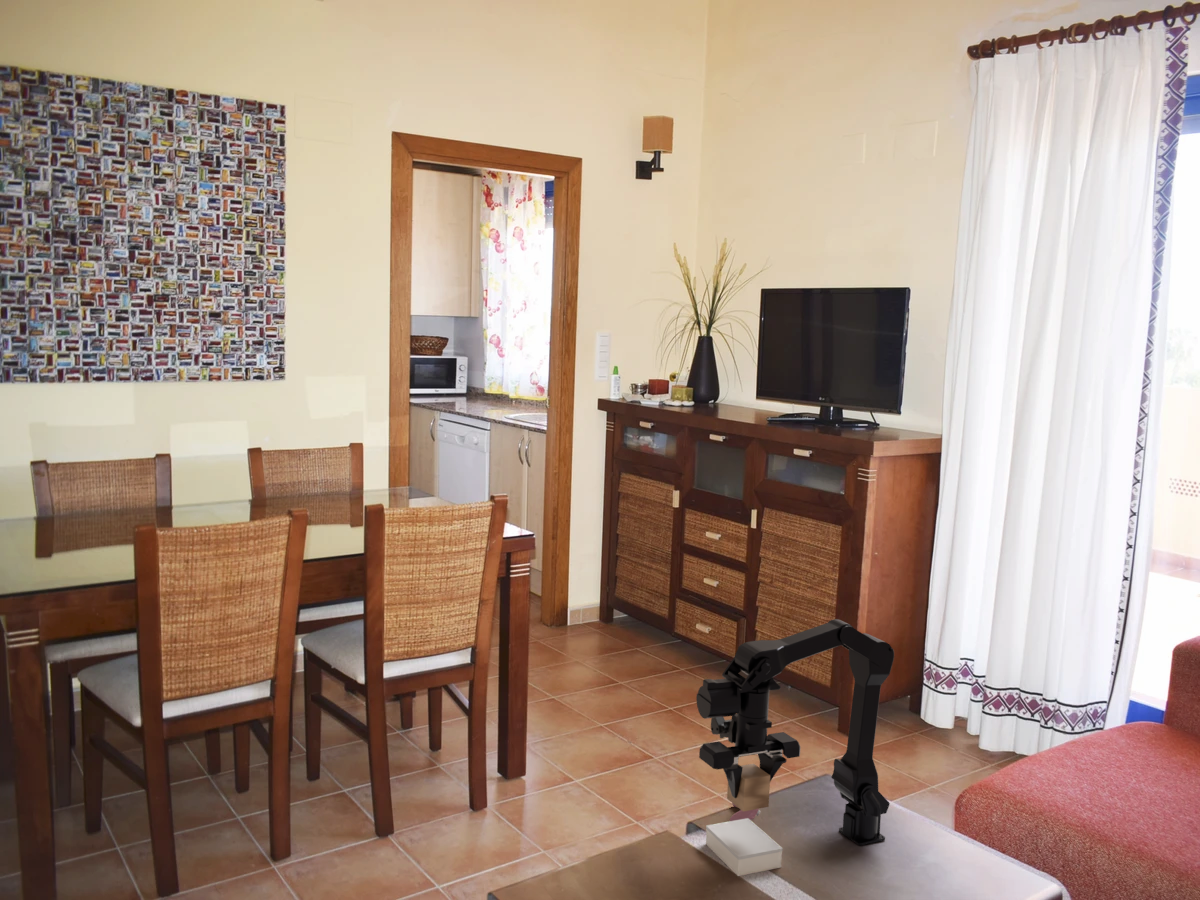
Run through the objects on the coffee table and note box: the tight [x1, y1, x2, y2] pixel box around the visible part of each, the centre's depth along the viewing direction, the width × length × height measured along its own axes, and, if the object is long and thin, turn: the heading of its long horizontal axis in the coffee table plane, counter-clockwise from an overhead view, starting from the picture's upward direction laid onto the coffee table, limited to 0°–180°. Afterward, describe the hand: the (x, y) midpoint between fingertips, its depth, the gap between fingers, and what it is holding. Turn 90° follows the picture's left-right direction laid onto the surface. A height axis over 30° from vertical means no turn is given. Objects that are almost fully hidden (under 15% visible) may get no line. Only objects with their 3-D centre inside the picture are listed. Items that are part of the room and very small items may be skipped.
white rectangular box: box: [705, 818, 784, 877], centre depth 178 cm, size 9×12×4 cm
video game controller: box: [729, 802, 761, 821], centre depth 193 cm, size 10×5×7 cm, turn 169°
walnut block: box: [726, 763, 771, 811], centre depth 177 cm, size 6×6×6 cm
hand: (747, 794), depth 177 cm, fingers closed on walnut block, 5 cm apart
